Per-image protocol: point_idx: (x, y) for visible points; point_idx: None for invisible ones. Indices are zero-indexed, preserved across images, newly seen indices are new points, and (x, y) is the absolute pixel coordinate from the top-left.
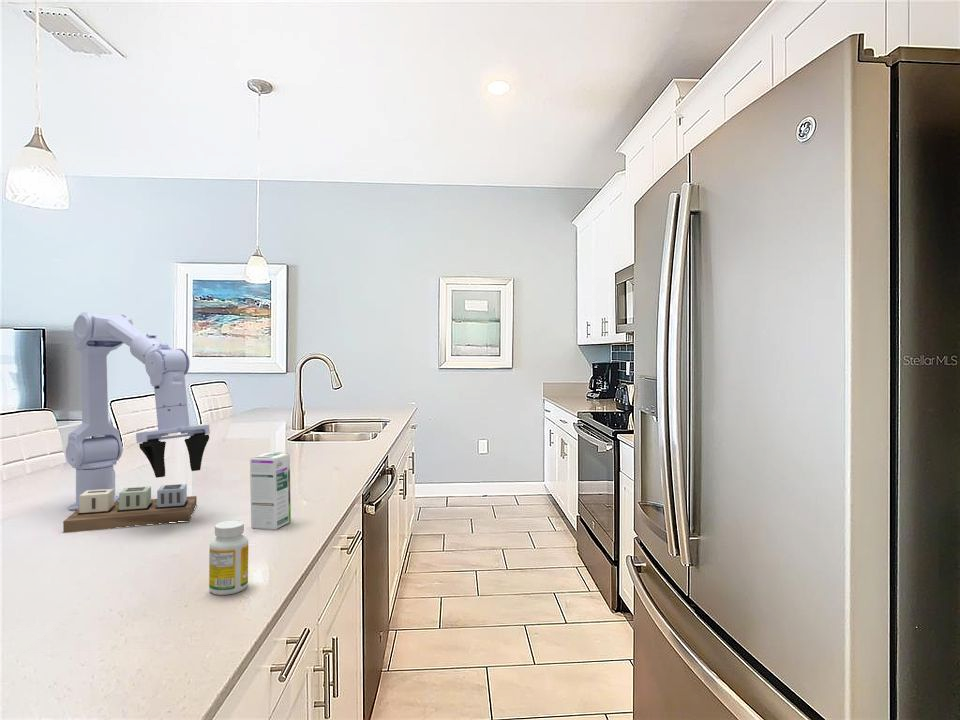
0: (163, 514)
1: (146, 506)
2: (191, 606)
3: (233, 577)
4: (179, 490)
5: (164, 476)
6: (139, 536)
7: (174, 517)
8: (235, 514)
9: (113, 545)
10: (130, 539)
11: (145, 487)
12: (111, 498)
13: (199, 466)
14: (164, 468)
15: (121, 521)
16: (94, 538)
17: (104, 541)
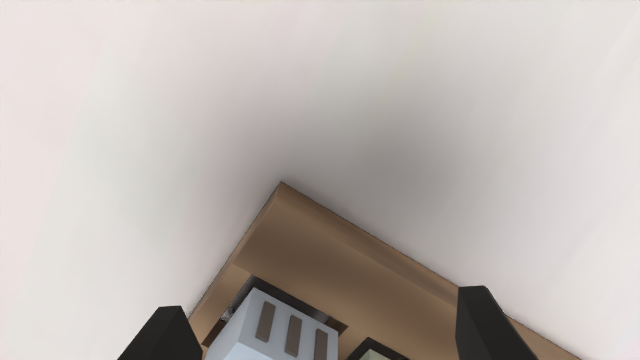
0: (358, 248)
1: (370, 353)
2: None
3: None
4: (255, 344)
5: (462, 288)
6: (502, 144)
7: (324, 219)
8: (93, 137)
9: (630, 106)
10: (545, 132)
11: None
12: None
13: (153, 325)
14: (483, 335)
15: None
16: (597, 244)
17: (608, 183)
